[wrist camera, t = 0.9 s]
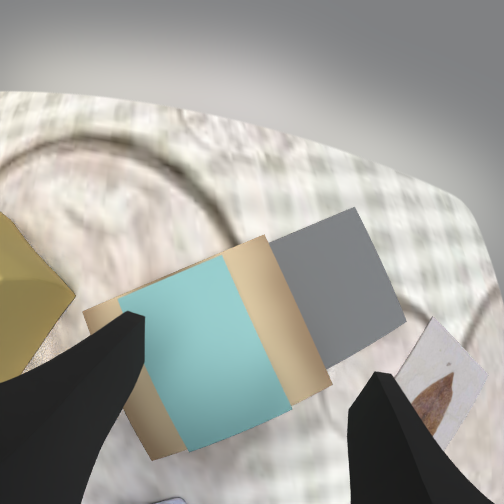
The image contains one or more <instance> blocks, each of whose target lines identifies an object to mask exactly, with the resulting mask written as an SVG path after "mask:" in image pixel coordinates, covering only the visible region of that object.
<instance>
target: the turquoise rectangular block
mask: <svg viewBox="0 0 504 504" xmlns="http://www.w3.org/2000/svg"><path fill="white" fill-rule="evenodd" d="M118 302H119V304H120V307H121V310H122V312H123V313H124V312H126V311H130V312H133V313H136V314H139V315H143V316H145V363H144V365H145V367H146V369H147V371H148V374H149V376H150V378H151V380H152V382H153V384H154V386H155V388H156V390H157V393H158V395H159V397H160V399H161V401H162V403H163V405H164V407H165V409H166V410H167V412H168V414H169V416H170V418H171V420H172V422H173V424H174V426H175V428H176V429H177V431H178V433H179V435H180V437H181V439H182V440H183V442H184V444H185V446H186V447H187V449H188V451H189V452H191V451H194V450H197V449H200V448H203V447H205V446H208V445H211V444H213V443H216V442H219V441H221V440H224V439H226V438H229V437H231V436H234V435H236V434H239V433H241V432H243V431H246V430H248V429H251V428H253V427H255V426H257V425H260V424H262V423H264V422H266V421H269V420H271V419H273V418H275V417H277V416H279V415H282V414H284V413H286V412H288V411H290V410H292V407H291V405H290V403H289V400H288V398H287V396H286V394H285V392H284V390H283V388H282V386H281V384H280V382H279V379H278V377H277V375H276V373H275V371H274V369H273V367H272V365H271V362H270V360H269V358H268V356H267V354H266V352H265V350H264V347H263V345H262V343H261V341H260V339H259V337H258V334H257V332H256V330H255V328H254V326H253V323H252V321H251V319H250V317H249V315H248V312H247V310H246V308H245V306H244V304H243V301H242V299H241V297H240V295H239V292H238V290H237V288H236V286H235V283H234V281H233V279H232V277H231V274H230V272H229V270H228V268H227V265H226V263H225V261H224V259H223V256H222V255H220V256H218V257H215V258H213V259H210V260H208V261H206V262H203V263H201V264H199V265H196V266H194V267H191V268H189V269H187V270H184V271H182V272H180V273H177V274H175V275H173V276H170V277H168V278H166V279H163V280H161V281H158V282H156V283H154V284H151V285H149V286H147V287H144V288H142V289H140V290H137V291H135V292H133V293H130V294H128V295H126V296H123V297H121V298H119V299H118Z"/></svg>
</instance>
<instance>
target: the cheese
mask: <svg viewBox="0 0 504 504" xmlns="http://www.w3.org/2000/svg"><path fill="white" fill-rule="evenodd" d="M74 298H75V294H74V293H73V292H72V291H71V290H70V288H69V287H68V286H67V285H66V284H65V283H64V282H63V281H62V279H61V278H60V277H59V276H58V275H57V274H56V273H55V272H54V271H53V270H52V269H51V268H50V267H49V266H48V265H47V264H46V263H45V262H44V261H43V260H42V259H41V258H40V256H39V255H38V254H37V253H36V252H35V251H34V250H33V249H32V247H31V246H30V245H29V244H28V242H27V241H26V240H25V239H24V237H23V236H22V235H21V233H20V232H19V230H18V229H17V228H16V226H15V225H14V224H13V222H12V221H11V220H10V219H9V218H7V217H6V216H5V215H4V214H3V213H1V212H0V383H1V382H4V381H7V380H9V379H12V378H14V377H17V376H19V375H20V374H21V373H22V371H23V370H24V369H25V367H26V366H27V364H28V363H29V361H30V360H31V358H32V357H33V356H34V354H35V353H36V351H37V350H38V348H39V347H40V345H41V344H42V342H43V341H44V339H45V338H46V336H47V335H48V333H49V332H50V330H51V329H52V327H53V326H54V324H55V323H56V321H57V320H58V319H59V317H60V316H61V314H62V313H63V312H64V311H65V309H66V308H67V307H68V305H69V304H70V303H71V301H72V300H73V299H74Z"/></svg>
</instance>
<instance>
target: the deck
mask: <svg viewBox="0 0 504 504" xmlns="http://www.w3.org/2000/svg"><path fill="white" fill-rule="evenodd" d="M220 255H222V256H223V259H224V261H225V263H226V265H227V268H228V270H229V272H230V274H231V277H232V279H233V281H234V283H235V286H236V288H237V290H238V292H239V295H240V297H241V299H242V301H243V304H244V306H245V308H246V310H247V312H248V315H249V317H250V319H251V321H252V323H253V326H254V328H255V330H256V332H257V334H258V337H259V339H260V341H261V343H262V345H263V347H264V350H265V352H266V354H267V356H268V358H269V360H270V362H271V365H272V367H273V369H274V371H275V373H276V375H277V377H278V379H279V382H280V384H281V386H282V388H283V390H284V392H285V394H286V396H287V398H288V400H289V403H290V405H291V406H293V405H295V404H297V403H299V402H301V401H303V400H305V399H307V398H308V397H310V396H312V395H314V394H316V393H318V392H320V391H322V390H324V389H326V388H327V387H329V386H331V385H333V384H332V382H331V380H330V377H329V375H328V373H327V371H326V368H325V366H324V364H323V362H322V359H321V357H320V355H319V353H318V350H317V348H316V346H315V344H314V341H313V339H312V337H311V335H310V333H309V330H308V328H307V326H306V324H305V321H304V319H303V317H302V315H301V313H300V310H299V308H298V306H297V304H296V302H295V299H294V297H293V295H292V293H291V291H290V289H289V286H288V284H287V282H286V280H285V278H284V275H283V273H282V271H281V269H280V267H279V265H278V263H277V260H276V258H275V256H274V254H273V252H272V250H271V247H270V245H269V243H268V241H267V239H266V237H265V235H262V236H259V237H257V238H255V239H252V240H250V241H247V242H245V243H243V244H240V245H238V246H235V247H233V248H231V249H228V250H226V251H223V252H221V253H219V254H216V255H214V256H212V257H209V258H207V259H204V260H202V261H200V262H197V263H195V264H193V265H190V266H188V267H185V268H183V269H181V270H178V271H176V272H174V273H171V274H169V275H167V276H164V277H162V278H159V279H157V280H155V281H152V282H150V283H148V284H145V285H143V286H141V287H138V288H136V289H134V290H131V291H129V292H127V293H124V294H122V295H120V296H117V297H115V298H113V299H110V300H108V301H106V302H103V303H101V304H99V305H96V306H94V307H92V308H90V309H87V310H85V311H83V315H84V318H85V321H86V323H87V326H88V329H89V331H90V334H91V335H92V334H93V333H95V332H96V331H98V330H99V329H101V328H102V327H104V326H105V325H106V324H108V323H109V322H111V321H112V320H114V319H115V318H116V317H118V316H119V315H121V314H122V313H123V312H122V310H121V307H120V304H119V302H118V299H119V298H121V297H123V296H126V295H128V294H130V293H133V292H135V291H137V290H140V289H142V288H144V287H147V286H149V285H151V284H154V283H156V282H158V281H161V280H163V279H166V278H168V277H170V276H173V275H175V274H177V273H180V272H182V271H184V270H187V269H189V268H191V267H194V266H196V265H199V264H201V263H203V262H206V261H208V260H210V259H213V258H215V257H218V256H220ZM123 409H124V411H125V413H126V415H127V417H128V419H129V421H130V423H131V425H132V427H133V429H134V430H135V432H136V434H137V436H138V438H139V440H140V441H141V443H142V445H143V447H144V448H145V450H146V452H147V454H148V455H149V457H150V459H151V460H152V461H153V460H156V459H160V458H163V457H166V456H169V455H172V454H175V453H178V452H181V451H184V450H187V447H186V446H185V444H184V442H183V440H182V439H181V437H180V435H179V433H178V431H177V429H176V428H175V426H174V424H173V422H172V420H171V418H170V416H169V414H168V412H167V410H166V409H165V407H164V405H163V403H162V401H161V399H160V397H159V395H158V393H157V390H156V388H155V386H154V384H153V382H152V380H151V378H150V376H149V374H148V371H147V369H146V367H145V365H143V367H142V370H141V372H140V375H139V377H138V380H137V382H136V384H135V387H134V389H133V391H132V393H131V394H130V396H129V398H128V400H127V402H126V403H125V405H124V407H123Z"/></svg>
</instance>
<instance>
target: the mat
mask: <svg viewBox="0 0 504 504" xmlns="http://www.w3.org/2000/svg"><path fill="white" fill-rule="evenodd" d="M269 245H270V247H271V250H272V252H273V254H274V256H275V258H276V260H277V263H278V265H279V267H280V269H281V271H282V273H283V275H284V278H285V280H286V282H287V284H288V286H289V289H290V291H291V293H292V295H293V297H294V299H295V302H296V304H297V306H298V308H299V310H300V313H301V315H302V317H303V319H304V321H305V324H306V326H307V328H308V330H309V333H310V335H311V337H312V339H313V341H314V344H315V346H316V348H317V350H318V353H319V355H320V357H321V359H322V362H323V364H324V366H325V368H326V369H328V368H330V367H332V366H334V365H336V364H337V363H339V362H341V361H343V360H345V359H346V358H348V357H350V356H352V355H353V354H355V353H357V352H358V351H360V350H362V349H364V348H365V347H367V346H369V345H370V344H372V343H374V342H375V341H377V340H379V339H380V338H382V337H383V336H385V335H387V334H388V333H390V332H391V331H393V330H394V329H396V328H398V327H399V326H401V325H402V324H404V323H405V322H407V321H406V318H405V316H404V313H403V311H402V309H401V306H400V304H399V301H398V299H397V296H396V294H395V292H394V289H393V287H392V285H391V282H390V280H389V278H388V276H387V273H386V271H385V269H384V267H383V264H382V262H381V260H380V258H379V256H378V254H377V251H376V249H375V247H374V245H373V243H372V241H371V239H370V237H369V235H368V233H367V231H366V229H365V226H364V224H363V222H362V220H361V218H360V216H359V214H358V213H357V211H356V209H355V207H353V208H351V209H348V210H346V211H344V212H341V213H339V214H337V215H334V216H332V217H329V218H327V219H325V220H322V221H320V222H318V223H315V224H313V225H310V226H308V227H306V228H303V229H301V230H299V231H296V232H294V233H291V234H289V235H287V236H284V237H282V238H280V239H277V240H275V241H273V242H270V243H269Z"/></svg>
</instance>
